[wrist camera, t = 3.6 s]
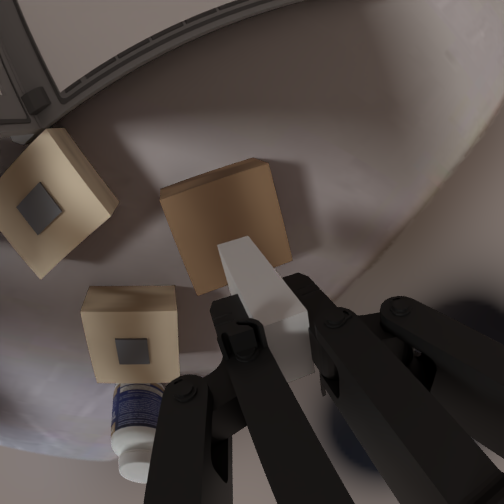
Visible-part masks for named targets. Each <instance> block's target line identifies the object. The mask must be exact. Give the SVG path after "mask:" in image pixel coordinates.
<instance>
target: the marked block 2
mask: <svg viewBox="0 0 504 504" xmlns="http://www.w3.org/2000/svg"><path fill="white" fill-rule="evenodd" d="M80 313H81V318H82V323H83V328H84V332H85V337H86V341H87V345H88V350H89V354H90V358H91V362H92V366H93V369H94V373H95V377H96V380H97V383H170V382H171V381H172V380H174V379H176V378H178V377H180V367H179V347H178V319H177V304H176V295H175V285H174V286H90V287H89V289H88V292H87V295H86V297H85V300H84V303H83V306H82V308H81V311H80Z"/></svg>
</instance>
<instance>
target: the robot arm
mask: <svg viewBox="0 0 504 504" xmlns="http://www.w3.org/2000/svg"><path fill="white" fill-rule="evenodd" d="M217 247H218V250H219V254H220V258H221V261H222V265H223V268H224V272H225V276H226V279H227V283H228V286H229V290H230V293H231V296H229V297H225V298H222V299H219V300H216V301H213V302H212V305H211V308H210V313H211V316H212V320H213V323H214V326H215V329H216V333H217V341H218V344H219V346H220V349H221V352H222V355H223V358H222V361H221V363H220V365H219V366H218V367H217V369H216V370H214V371H213V372H212V373H210V374H209V375H207V376H205V377H204V378H202V377H200V376H197V375H184V376H180V377H178V378H176V379H174V380H172V381H171V382H170V383H169V384H168V385H167V386H166V388H165V390H164V392H163V395H162V400H161V405H160V410H159V416H158V421H157V426H156V431H155V437H154V442H153V448H152V454H151V460H150V466H149V472H148V478H147V484H146V491H145V497H144V504H233V484H232V435H233V434H235V433H236V432H238V431H239V430H241V429H242V428H244V427H246V426H248V429H249V432H250V434H251V437H252V440H253V443H254V445H255V448H256V450H257V453H258V456H259V458H260V461H261V464H262V466H263V469H264V471H265V474H266V477H267V479H268V481H269V484H270V486H271V489H272V492H273V494H274V496H275V499H276V501H277V504H355V503H354V502H353V500H352V498H351V497H350V495H349V493H348V491H347V490H346V488H345V486H344V484H343V483H342V481H341V479H340V477H339V475H338V474H337V472H336V470H335V468H334V467H333V465H332V463H331V461H330V460H329V458H328V456H327V454H326V452H325V451H324V449H323V447H322V445H321V443H320V442H319V440H318V438H317V436H316V435H315V433H314V431H313V429H312V427H311V425H310V423H309V422H308V420H307V418H306V416H305V414H304V413H303V411H302V409H301V407H300V405H299V403H298V402H297V400H296V398H295V396H294V394H293V392H292V390H291V388H290V387H289V385H288V383H289V382H292V381H294V380H297V379H299V378H302V377H305V376H307V375H310V374H312V373H314V372H315V370H314V363H315V365H316V366H317V368H318V369H319V372H320V382H321V392H322V395H323V396H325V395H326V391H325V389H326V390H327V392H328V393H329V395H330V397H331V398H332V400H333V401H334V403H335V405H336V406H337V407H338V409H339V411H340V412H341V414H342V415H343V417H344V419H345V420H346V422H347V423H348V425H349V426H350V428H351V429H352V431H353V432H354V434H355V436H356V437H357V439H358V440H359V442H360V443H361V445H362V446H363V448H364V449H365V451H366V452H367V454H368V455H369V457H370V459H371V460H372V462H373V463H374V465H375V466H376V468H377V469H378V471H379V473H380V474H381V476H382V477H383V479H384V480H385V482H386V483H387V485H388V486H389V488H390V489H391V491H392V492H393V493H394V495H395V497H396V498H397V500H398V501H399V503H400V504H504V473H503V472H501V471H500V470H499V469H498V468H497V467H496V466H495V465H494V463H493V462H492V461H491V460H490V459H489V458H488V456H486V454H485V453H484V452H483V451H482V450H481V448H480V447H479V446H478V445H477V444H476V443H475V442H474V440H473V439H475V440H476V441H478V442H480V443H481V444H482V445H484V446H485V447H487V448H488V449H490V450H492V451H493V452H495V453H496V454H497V455H499V456H501V457H502V458H504V345H502V344H500V343H499V342H497V341H495V340H493V339H491V338H489V337H487V336H485V335H483V334H481V333H479V332H477V331H475V330H474V329H471V328H470V327H468V326H465V325H464V324H462V323H460V322H458V321H456V320H454V319H452V318H450V317H448V316H446V315H444V314H442V313H440V312H438V311H436V310H434V309H432V308H430V307H428V306H426V305H424V304H422V303H420V302H418V301H416V300H414V299H412V298H408V297H404V296H397V297H391V298H389V299H387V300H385V301H384V302H383V303H382V305H381V308H380V312H379V313H374V314H368V315H360V316H358V315H356V314H355V313H354V312H352V311H351V310H349V309H346V308H342V307H337V306H336V305H335V304H334V303H333V302H332V301H331V300H330V299H329V298H328V297H327V296H326V295H325V294H324V293H323V292H322V290H320V288H319V287H318V286H317V285H316V284H315V283H314V282H313V281H312V280H311V279H310V278H309V277H308V276H306V275H303V274H301V273H295V274H292V275H289V276H286V277H283V278H281V277H280V275H279V274H278V273H277V272H276V270H275V269H274V268H273V266H272V265H271V264H270V263H269V261H268V260H267V259H266V258H265V256H264V255H263V254H262V253H261V251H260V250H259V249H258V248H257V246H256V245H255V244H254V242H253V241H252V240H251V239H250V237H249V236H245V237H242V238H239V239H235V240H232V241H229V242H225V243H222V244H219V245H217ZM415 349H417V350H419V351H420V352H422V353H418V352H416V351H414V350H415ZM471 437H472V438H473V439H472V438H471Z"/></svg>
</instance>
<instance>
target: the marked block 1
mask: <svg viewBox="0 0 504 504" xmlns="http://www.w3.org/2000/svg"><path fill="white" fill-rule="evenodd" d="M118 204H119V201H118V199H117V198H116V197H115V196H114V194H113V193H112V192H111V190H110V189H109V188H108V187H107V185H106V184H105V183H104V181H103V180H102V179H101V177H100V176H99V175H98V173H97V172H96V171H95V169H94V168H93V167H92V165H91V164H90V163H89V161H88V160H87V159H86V157H85V156H84V154H83V153H82V152H81V150H80V149H79V148H78V146H77V145H76V143H75V142H74V141H73V139H72V138H71V136H70V135H69V134H68V132H67V131H66V129H65V128H49V129H45V130H44V131H43V132H42V133H41V134H40V135H39V136H38V137H37V138H36V139H35V140H34V141H33V142H32V143H31V144H30V145H29V146H28V147H27V148H26V149H25V150H24V151H23V153H22V154H21V155H20V156H19V157H18V158H17V159H16V160H15V161H14V162H13V164H12V165H11V166H10V167H9V168H8V169H7V170H6V171H5V173H4V174H3V175H2V176H1V177H0V231H1V232H2V234H3V235H4V236H5V238H6V239H7V240H8V242H9V243H10V244H11V245H12V247H13V248H14V249H15V250H16V252H17V253H18V254H19V255H20V256H21V258H22V259H23V260H24V261H25V262H26V264H27V265H28V266H29V267H30V268H31V269H32V270H33V272H34V273H35V274H36V275H37V276H38V277H39V278H40V280H41V279H42V278H43V277H44V276H45V275H46V274H47V273H48V272H49V271H51V270H52V269H53V268H54V267H55V266H56V265H57V264H58V263H59V262H60V261H61V260H62V259H63V258H64V257H65V256H66V255H67V254H69V253H70V252H71V251H72V250H73V249H74V248H75V247H76V246H77V245H78V244H80V243H81V242H82V241H83V240H84V239H85V238H86V237H88V236H89V235H90V234H91V233H92V232H93V231H94V230H96V229H97V228H98V227H99V226H100V225H101V224H103V223H104V222H105V221H106V220H107V219H108V218H110V217H111V216H112V214H113V212H114V211H115V209H116V207H117V205H118Z"/></svg>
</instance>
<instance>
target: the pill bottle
mask: <svg viewBox="0 0 504 504" xmlns="http://www.w3.org/2000/svg"><path fill="white" fill-rule="evenodd" d="M164 390H165V388H164V387H163V385H162V384H161V383H117V384H116V386H115V389H114V396H113V409H112V424H111V446H112V449H113V451H114V452H115V453H116V454H117V455H118V456H119V460H118V461H119V472H120V474H121V475H122V476H123V477H124V478H126V479H128V480H130V481H133V482H137V483H147V478H148V472H149V466H150V460H151V454H152V448H153V442H154V437H155V431H156V426H157V421H158V416H159V410H160V405H161V400H162V395H163V392H164Z"/></svg>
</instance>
